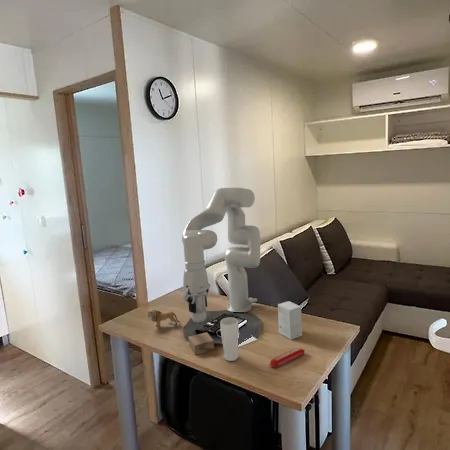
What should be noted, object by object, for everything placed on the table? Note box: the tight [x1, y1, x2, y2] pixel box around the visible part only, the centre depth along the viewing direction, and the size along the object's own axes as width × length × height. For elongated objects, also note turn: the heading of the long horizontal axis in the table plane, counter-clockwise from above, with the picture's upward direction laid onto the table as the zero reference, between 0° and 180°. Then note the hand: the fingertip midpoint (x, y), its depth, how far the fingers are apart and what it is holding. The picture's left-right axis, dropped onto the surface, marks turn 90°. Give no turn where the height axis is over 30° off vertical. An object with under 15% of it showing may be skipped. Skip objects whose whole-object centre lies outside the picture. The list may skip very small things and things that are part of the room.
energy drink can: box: [190, 286, 207, 323], centre depth 144 cm, size 6×6×15 cm
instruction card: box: [238, 335, 258, 348], centre depth 151 cm, size 12×9×1 cm
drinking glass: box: [219, 316, 240, 362], centre depth 137 cm, size 7×7×15 cm
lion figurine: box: [147, 309, 181, 329], centre depth 169 cm, size 15×5×9 cm, turn 110°
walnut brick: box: [188, 331, 215, 355], centre depth 147 cm, size 8×8×4 cm
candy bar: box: [268, 347, 306, 368], centre depth 134 cm, size 16×4×3 cm, turn 125°
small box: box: [277, 300, 303, 341], centre depth 153 cm, size 8×6×13 cm
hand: (198, 308), depth 144 cm, fingers closed on energy drink can, 6 cm apart
